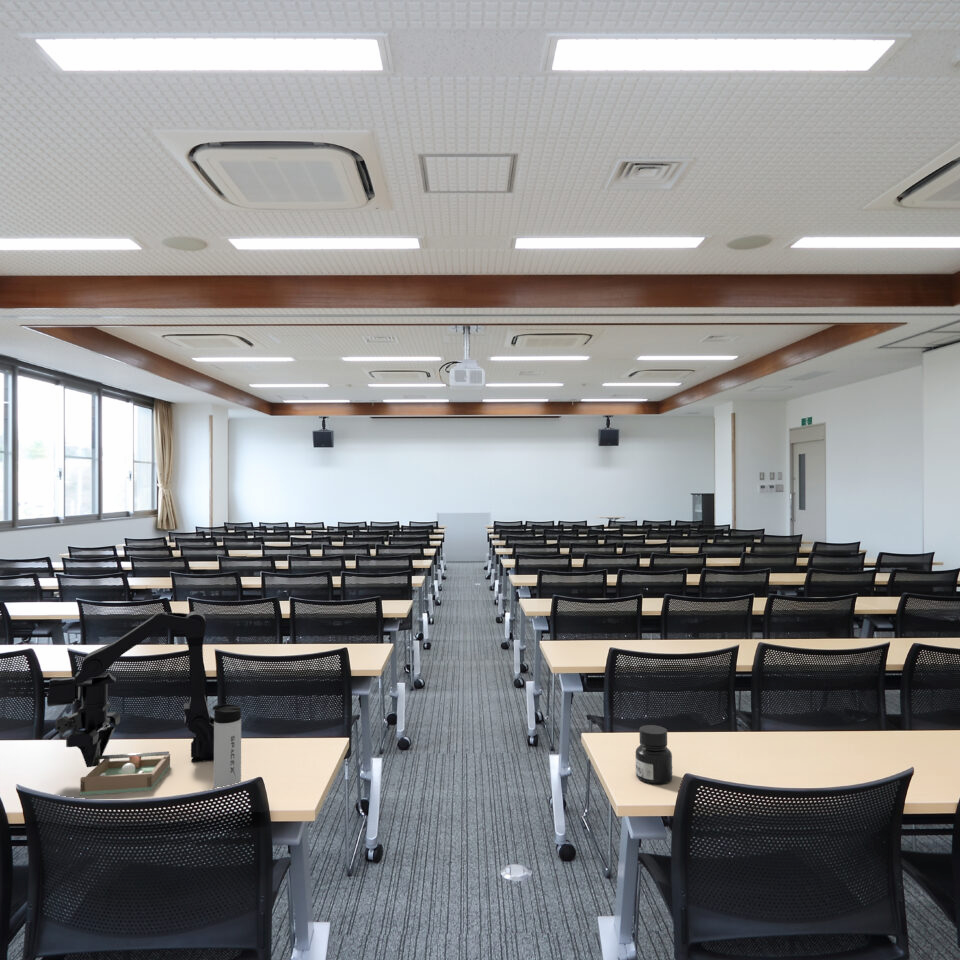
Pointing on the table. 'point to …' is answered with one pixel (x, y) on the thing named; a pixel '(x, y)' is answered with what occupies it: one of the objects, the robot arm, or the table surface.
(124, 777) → the pitch
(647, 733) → the ink bottle
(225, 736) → the travel mug
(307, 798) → the table surface
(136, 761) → the rubber mallet
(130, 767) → the ball
